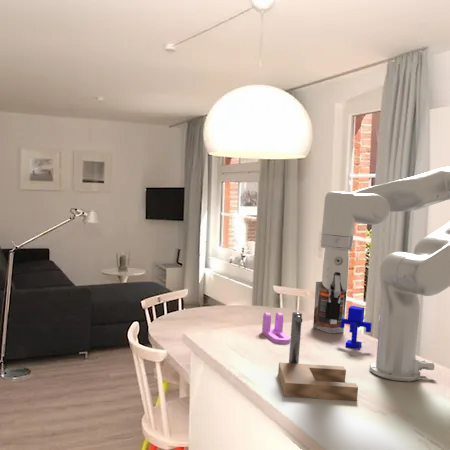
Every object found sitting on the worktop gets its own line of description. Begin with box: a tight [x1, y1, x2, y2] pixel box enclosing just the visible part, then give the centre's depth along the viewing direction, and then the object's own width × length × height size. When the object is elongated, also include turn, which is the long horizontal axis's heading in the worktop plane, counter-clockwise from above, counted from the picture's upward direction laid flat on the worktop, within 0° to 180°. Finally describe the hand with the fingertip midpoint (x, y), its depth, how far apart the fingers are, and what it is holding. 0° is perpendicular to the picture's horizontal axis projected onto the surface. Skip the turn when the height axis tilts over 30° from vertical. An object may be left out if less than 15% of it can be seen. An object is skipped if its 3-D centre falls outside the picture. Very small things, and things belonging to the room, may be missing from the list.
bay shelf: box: [277, 361, 359, 402], centre depth 120 cm, size 16×14×3 cm
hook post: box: [288, 311, 303, 364], centre depth 128 cm, size 4×6×15 cm, turn 0°
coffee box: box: [312, 280, 348, 334], centre depth 175 cm, size 9×6×16 cm
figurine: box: [340, 305, 372, 350], centre depth 156 cm, size 8×8×12 cm
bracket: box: [261, 312, 291, 345], centre depth 161 cm, size 13×6×7 cm, turn 14°
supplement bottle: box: [317, 279, 344, 328], centre depth 125 cm, size 6×6×11 cm
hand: (329, 315), depth 125 cm, fingers closed on supplement bottle, 6 cm apart
